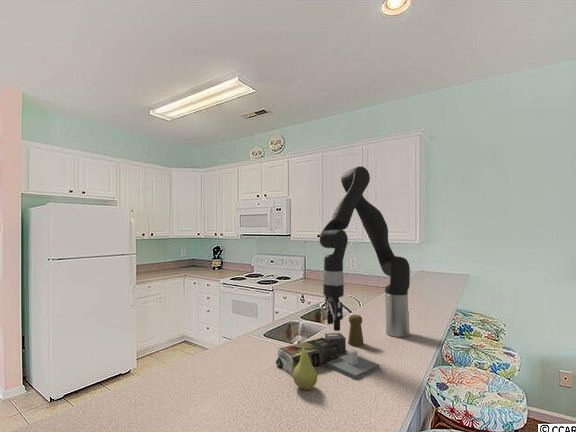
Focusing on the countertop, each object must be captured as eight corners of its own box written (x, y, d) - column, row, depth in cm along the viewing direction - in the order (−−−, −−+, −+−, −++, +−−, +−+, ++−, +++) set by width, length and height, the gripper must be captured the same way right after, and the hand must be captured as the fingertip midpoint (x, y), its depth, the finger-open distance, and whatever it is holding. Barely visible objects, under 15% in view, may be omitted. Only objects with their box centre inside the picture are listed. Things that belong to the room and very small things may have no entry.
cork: (364, 347, 117) (363, 317, 117) (348, 345, 118) (347, 316, 119) (363, 341, 123) (363, 313, 123) (348, 340, 124) (347, 312, 125)
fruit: (301, 397, 81) (300, 350, 82) (287, 385, 87) (287, 342, 88) (321, 390, 84) (321, 346, 85) (307, 379, 91) (307, 338, 91)
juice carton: (290, 376, 93) (290, 355, 94) (273, 365, 101) (274, 346, 102) (339, 362, 104) (339, 343, 104) (321, 353, 112) (321, 336, 113)
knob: (340, 347, 116) (340, 332, 117) (345, 353, 110) (345, 337, 111) (325, 348, 115) (324, 332, 116) (329, 354, 109) (329, 338, 110)
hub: (350, 356, 107) (349, 341, 108) (379, 368, 98) (379, 351, 98) (326, 366, 100) (326, 349, 100) (355, 379, 90) (355, 361, 91)
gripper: (319, 280, 121) (318, 322, 120) (329, 286, 107) (328, 333, 106) (337, 280, 122) (337, 321, 121) (349, 285, 108) (349, 332, 107)
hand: (333, 327), depth 114 cm, fingers open, 8 cm apart
